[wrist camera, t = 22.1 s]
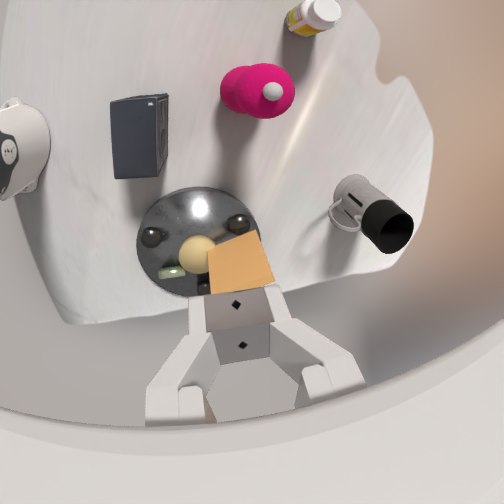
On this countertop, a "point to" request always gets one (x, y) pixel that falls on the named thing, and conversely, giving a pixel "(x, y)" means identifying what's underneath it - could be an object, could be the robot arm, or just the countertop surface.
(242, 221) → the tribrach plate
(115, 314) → the countertop surface
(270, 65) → the pepper mill
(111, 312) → the countertop surface
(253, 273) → the tan slab with dome
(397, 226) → the glass holder
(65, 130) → the countertop surface
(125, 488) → the robot arm
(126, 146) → the small box
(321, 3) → the supplement bottle
